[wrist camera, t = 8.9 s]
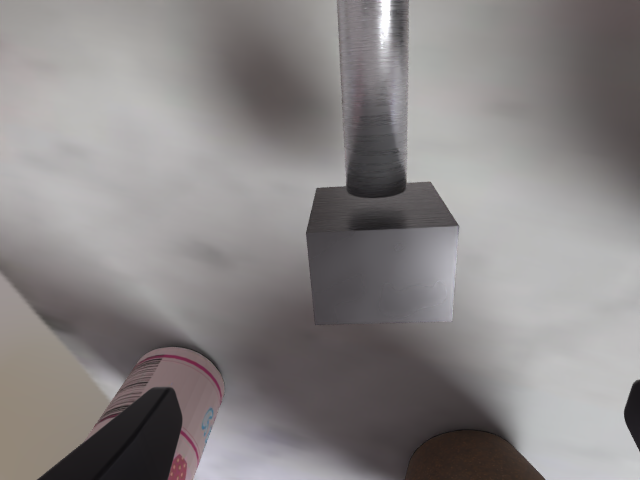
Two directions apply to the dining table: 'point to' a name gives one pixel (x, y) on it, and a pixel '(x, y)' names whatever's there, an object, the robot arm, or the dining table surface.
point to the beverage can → (192, 393)
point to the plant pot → (469, 459)
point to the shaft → (379, 191)
